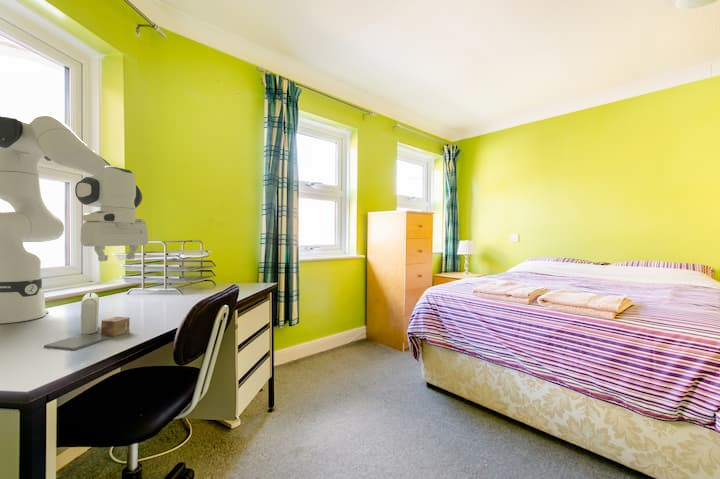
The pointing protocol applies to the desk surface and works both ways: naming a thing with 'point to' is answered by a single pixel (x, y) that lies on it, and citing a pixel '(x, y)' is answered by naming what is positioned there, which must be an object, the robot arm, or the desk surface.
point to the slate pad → (76, 342)
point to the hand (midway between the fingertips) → (117, 260)
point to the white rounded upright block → (89, 313)
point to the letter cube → (115, 326)
